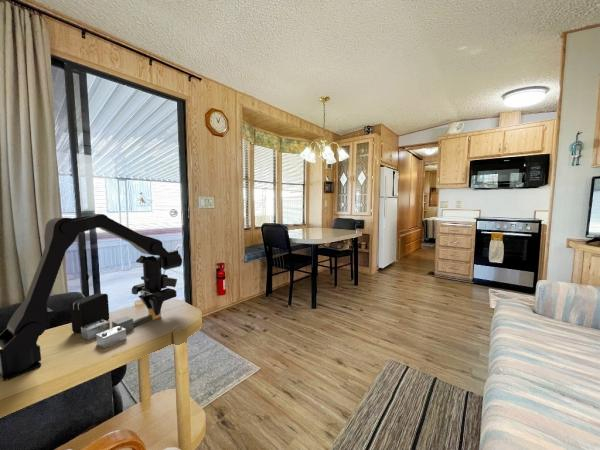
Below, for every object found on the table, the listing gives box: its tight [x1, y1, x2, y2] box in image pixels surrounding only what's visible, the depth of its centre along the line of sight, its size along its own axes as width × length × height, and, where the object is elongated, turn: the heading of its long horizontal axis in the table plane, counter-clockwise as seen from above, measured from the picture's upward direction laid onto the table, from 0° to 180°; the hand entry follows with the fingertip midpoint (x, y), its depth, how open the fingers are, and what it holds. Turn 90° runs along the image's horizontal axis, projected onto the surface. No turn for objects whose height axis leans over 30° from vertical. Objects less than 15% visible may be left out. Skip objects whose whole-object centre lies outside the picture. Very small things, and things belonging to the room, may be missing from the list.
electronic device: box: [69, 293, 110, 333], centre depth 87 cm, size 4×10×10 cm, turn 174°
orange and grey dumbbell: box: [109, 308, 162, 332], centre depth 88 cm, size 16×4×4 cm, turn 151°
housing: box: [80, 319, 127, 349], centre depth 79 cm, size 6×14×4 cm, turn 61°
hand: (155, 314), depth 93 cm, fingers closed on orange and grey dumbbell, 3 cm apart
